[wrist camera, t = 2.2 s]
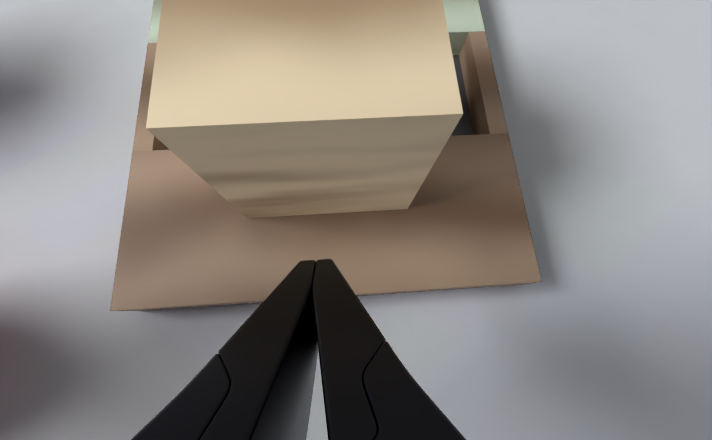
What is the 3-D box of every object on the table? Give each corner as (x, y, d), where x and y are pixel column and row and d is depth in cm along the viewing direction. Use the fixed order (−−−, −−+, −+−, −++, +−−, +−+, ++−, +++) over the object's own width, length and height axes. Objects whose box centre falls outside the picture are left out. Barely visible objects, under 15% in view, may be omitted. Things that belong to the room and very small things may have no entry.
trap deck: (519, 284, 17) (541, 281, 15) (138, 310, 16) (110, 310, 14) (452, -42, 23) (461, -74, 21) (179, -35, 23) (163, -67, 21)
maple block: (407, 209, 16) (463, 113, 8) (246, 218, 15) (145, 128, 8) (391, 76, 18) (424, -99, 10) (250, 82, 18) (174, -94, 10)
